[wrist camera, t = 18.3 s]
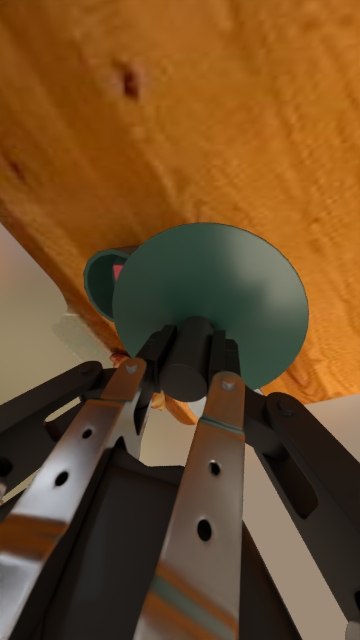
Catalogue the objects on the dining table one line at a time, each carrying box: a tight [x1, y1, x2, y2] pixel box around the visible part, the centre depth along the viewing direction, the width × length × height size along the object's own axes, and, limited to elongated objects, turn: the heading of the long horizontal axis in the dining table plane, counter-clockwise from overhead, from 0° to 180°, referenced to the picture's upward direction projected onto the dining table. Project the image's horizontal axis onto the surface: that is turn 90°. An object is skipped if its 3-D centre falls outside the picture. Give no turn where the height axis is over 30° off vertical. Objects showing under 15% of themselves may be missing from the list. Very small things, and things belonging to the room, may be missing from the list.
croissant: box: [110, 353, 166, 411], centre depth 44 cm, size 21×10×8 cm, turn 37°
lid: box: [112, 223, 309, 402], centre depth 10 cm, size 13×13×6 cm
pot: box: [83, 246, 138, 322], centre depth 31 cm, size 12×12×8 cm
